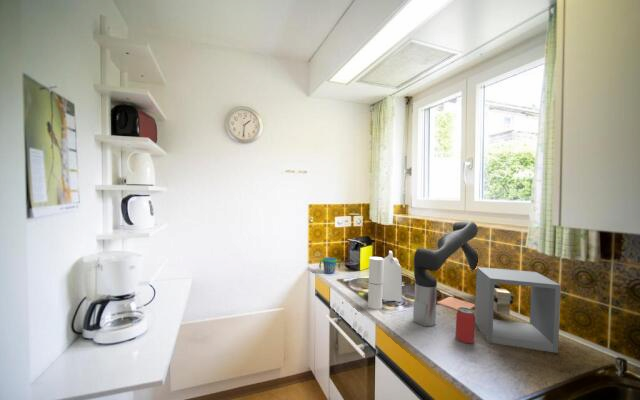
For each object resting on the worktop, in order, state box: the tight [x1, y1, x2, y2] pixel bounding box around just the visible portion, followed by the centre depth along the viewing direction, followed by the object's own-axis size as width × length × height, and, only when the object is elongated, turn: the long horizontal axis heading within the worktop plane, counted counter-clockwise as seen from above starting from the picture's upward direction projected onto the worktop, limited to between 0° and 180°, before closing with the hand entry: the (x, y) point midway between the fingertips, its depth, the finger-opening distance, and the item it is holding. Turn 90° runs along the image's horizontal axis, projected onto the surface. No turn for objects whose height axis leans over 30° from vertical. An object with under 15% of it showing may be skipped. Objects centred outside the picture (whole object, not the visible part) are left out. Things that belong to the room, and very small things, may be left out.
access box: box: [474, 266, 562, 354], centre depth 110 cm, size 18×23×26 cm
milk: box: [382, 250, 403, 302], centre depth 148 cm, size 12×12×26 cm
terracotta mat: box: [436, 296, 475, 311], centre depth 141 cm, size 14×14×1 cm
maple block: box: [494, 288, 511, 316], centre depth 122 cm, size 5×5×10 cm
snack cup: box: [318, 256, 341, 275], centre depth 193 cm, size 16×10×10 cm
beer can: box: [455, 307, 476, 344], centre depth 106 cm, size 7×7×12 cm
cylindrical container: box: [367, 256, 384, 310], centre depth 136 cm, size 7×7×25 cm
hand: (503, 301), depth 119 cm, fingers closed on maple block, 5 cm apart
